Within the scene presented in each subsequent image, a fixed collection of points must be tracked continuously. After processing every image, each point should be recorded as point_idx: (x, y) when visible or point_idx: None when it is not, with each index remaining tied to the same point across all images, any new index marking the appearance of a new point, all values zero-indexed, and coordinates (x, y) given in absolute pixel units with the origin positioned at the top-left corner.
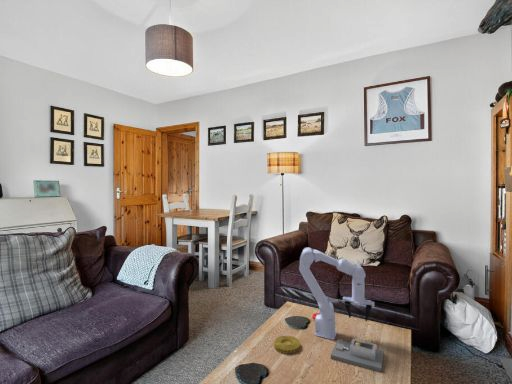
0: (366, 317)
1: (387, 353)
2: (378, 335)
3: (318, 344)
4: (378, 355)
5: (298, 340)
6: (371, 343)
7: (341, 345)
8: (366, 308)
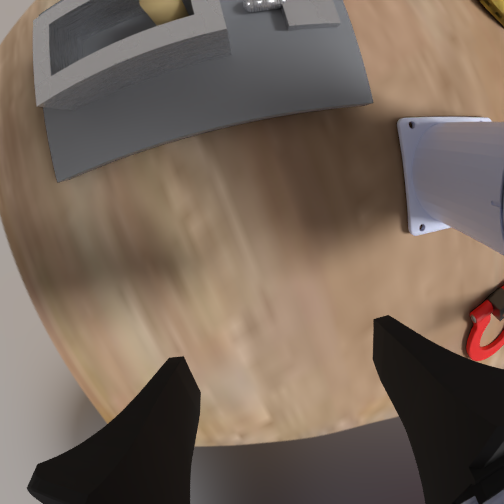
0: (154, 384)
1: (58, 199)
2: None
3: (432, 32)
4: None
5: (495, 3)
6: (64, 86)
7: (303, 10)
8: (70, 494)
